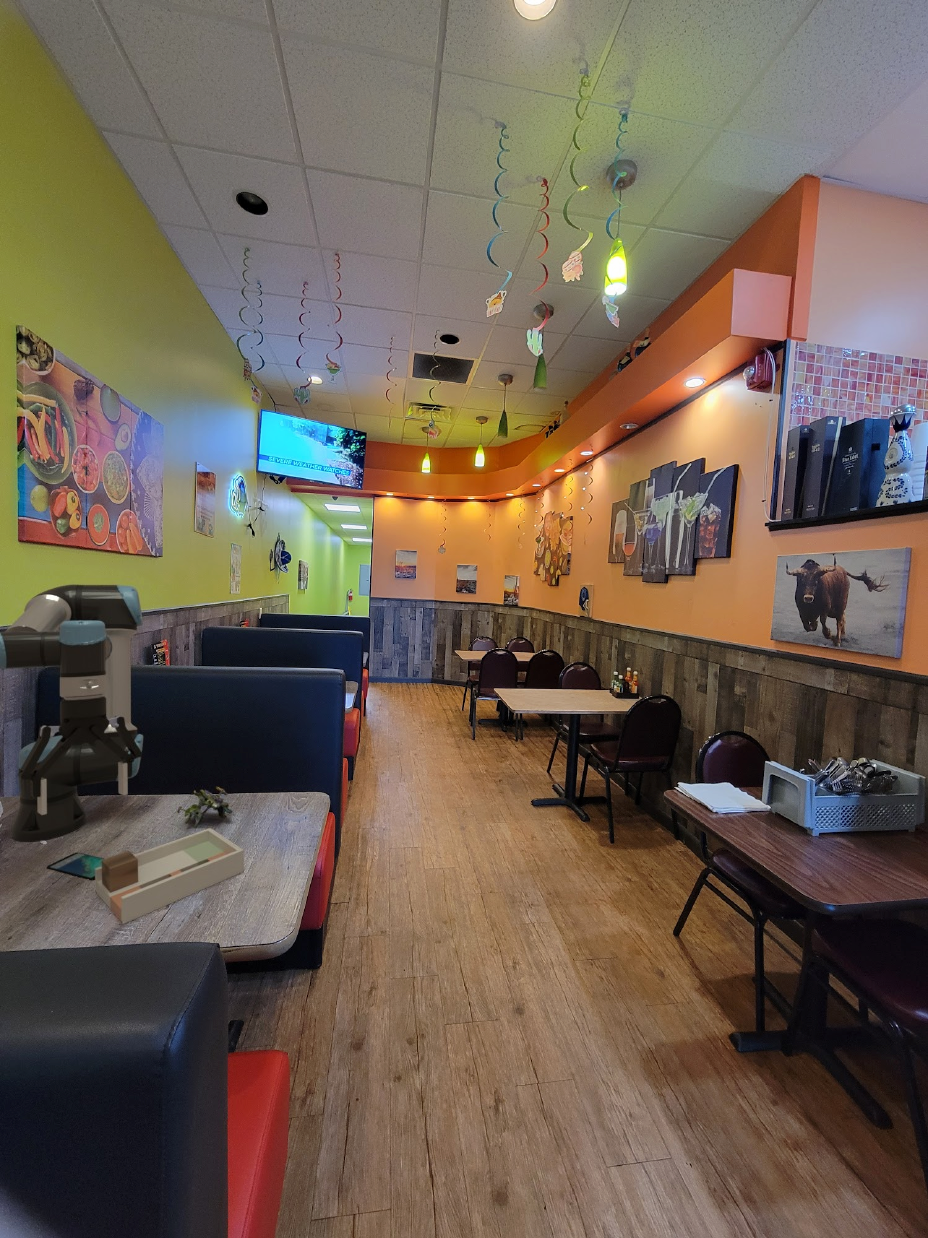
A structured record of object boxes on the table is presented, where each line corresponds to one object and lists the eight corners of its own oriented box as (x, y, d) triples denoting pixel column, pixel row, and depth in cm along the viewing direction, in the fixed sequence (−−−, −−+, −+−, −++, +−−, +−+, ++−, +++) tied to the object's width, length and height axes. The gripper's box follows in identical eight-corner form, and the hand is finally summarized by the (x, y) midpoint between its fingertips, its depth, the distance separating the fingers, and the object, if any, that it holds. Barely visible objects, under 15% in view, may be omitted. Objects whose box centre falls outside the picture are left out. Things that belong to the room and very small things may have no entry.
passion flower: (221, 836, 144) (244, 805, 142) (186, 847, 134) (210, 813, 132) (201, 806, 148) (223, 775, 146) (166, 814, 138) (189, 781, 136)
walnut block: (102, 883, 107) (101, 860, 107) (129, 873, 111) (128, 850, 111) (110, 893, 104) (109, 869, 104) (138, 882, 108) (137, 859, 108)
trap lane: (95, 891, 108) (94, 868, 108) (210, 847, 127) (210, 828, 127) (123, 924, 98) (122, 899, 98) (243, 871, 117) (243, 850, 117)
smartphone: (76, 851, 123) (123, 862, 119) (76, 854, 123) (123, 866, 119) (44, 867, 117) (93, 879, 112) (44, 870, 117) (93, 882, 112)
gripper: (7, 706, 92) (8, 827, 91) (158, 691, 111) (159, 789, 111) (-4, 703, 96) (-3, 818, 96) (143, 689, 116) (145, 784, 116)
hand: (84, 803), depth 103 cm, fingers open, 13 cm apart
